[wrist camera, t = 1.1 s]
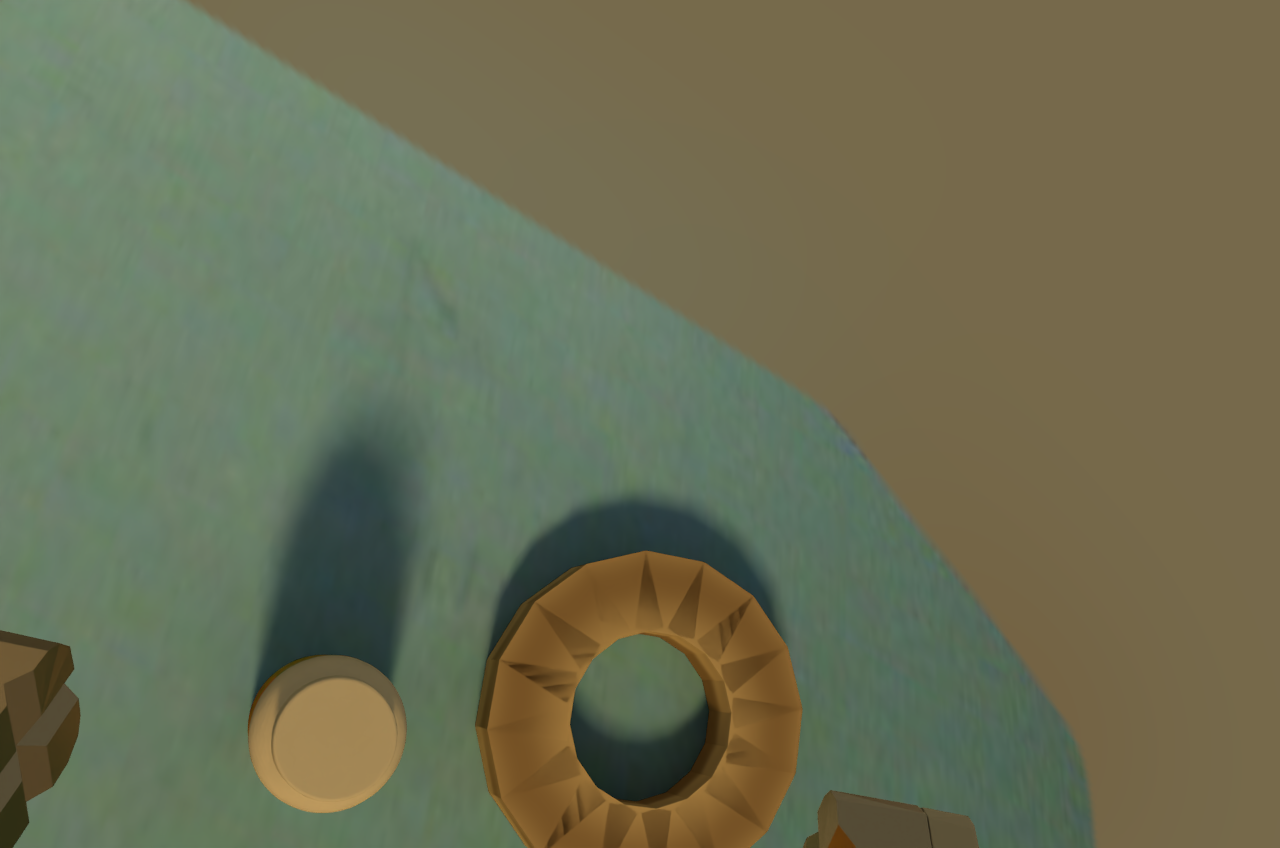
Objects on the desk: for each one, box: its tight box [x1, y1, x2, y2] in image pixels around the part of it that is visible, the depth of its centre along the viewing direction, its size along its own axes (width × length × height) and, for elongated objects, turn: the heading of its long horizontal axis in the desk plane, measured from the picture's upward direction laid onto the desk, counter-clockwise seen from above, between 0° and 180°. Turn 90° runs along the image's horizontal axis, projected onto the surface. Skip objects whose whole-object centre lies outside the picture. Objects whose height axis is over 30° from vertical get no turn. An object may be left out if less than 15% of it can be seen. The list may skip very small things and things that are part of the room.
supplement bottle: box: [248, 655, 407, 813], centre depth 41 cm, size 5×5×10 cm
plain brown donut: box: [475, 551, 802, 848], centre depth 48 cm, size 14×14×2 cm
